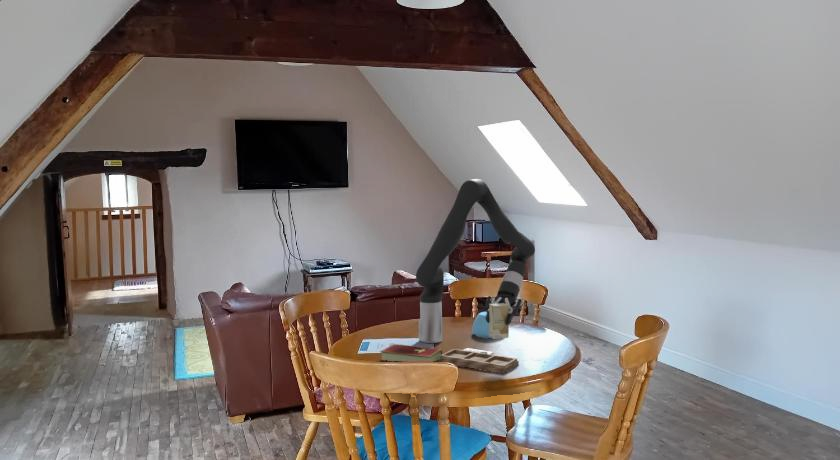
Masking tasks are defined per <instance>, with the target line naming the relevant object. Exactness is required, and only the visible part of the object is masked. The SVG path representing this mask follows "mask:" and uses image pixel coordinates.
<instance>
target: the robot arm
mask: <svg viewBox="0 0 840 460" xmlns="http://www.w3.org/2000/svg"><path fill="white" fill-rule="evenodd" d="M456 195H457V196H456V198H455V200H454V203H453V206H452V207H451V209H450V210H449V213H448V215H447V216H446V218H445V221H444V222H443V224H442V226H441V227H440V229H439V231H438V233H437V236H436V238H435V239H434V241H433V244H432V245H431V247H430V248H429V251H428V252H427V255H426V256H425V258H424V259H423V260H422V261H421V264H420V265H419V266H418V268H417V270H416V274H415V280H416V282H417V284H418V285H419V286H420V287H424V289H423V291H422V292H421V294H420V295H419V307H420V309H419V310H420V311H419V314H420V316H419V317H420V318H418V319H417V320H418V321H417V322H418V341H419V342H421V343H426V344H437V343H440V342H442V341H443V316H442V315H443V312H442V310H443V309H442V307H443V305H442V304H443V302H442V298H443V294H444V286H445V285H444V278H445V277H444V270H443V268H442V266H441V264H442V263H443V262H444V261H445V259H446V258H447V257H448V256H449V255H450V254H451V253H452V252H453V251H454V250H455V249H456V248H457V246H458V244H459V242H460V241H461V240H462V237H463V235H464V232H465V231H466V230H465V228H466V224H467V218H468V215H469V214H470V212H471V210H472V208H473V206H475V204H476V203H478V205H479V206H480V207H481V208H483V210H484V211H485V213H486V214H487V217H488V219H489V222H490V223H491V225H492V227H493V230H494V231H495V232H496V233H497V235H498V236H499V237H500V239H501V240H502V241H503V242H504V243H505V244H506V245H507V244H512V245H513V246H514V248H513V250H512V251H511V254H510V256H509V264H508V266H507V269H506V270H505V271H506V272H505V274H504V275H503V277H502V280H501V282H500V285H499V288H498V290H497V293H496V294H497V295H496V296H495V297H492V296H491V295H488V296H487V298H486V301H485V304H484V308H483V309H484V312H487V315H486V321H487V323H489V304H497V303H505V304H507V305H509V314H508V315H507V317H506V320H505V324H506V325H509V326H510V325H511V323H512V320H513V318H514V317H519V316H520V313H521V311H522V309H523V305H524V302H523V300H522V298H519V299H518V297H519V294H520V291H521V288H522V285H523V282H524V281H523V280H524V278H525V276H526V272H527V266H526V264H527V262H528V261H529V260H530V259H531V258H532V257H533V256H534V254H535V253H536V248H535V244H534V242H533V241H531V239H529V238H528V237H527V236H525V235H524V234H523V233H522V232H520V231H519V230H518V229H517V228H516V226H515V225H514V224H513V223H512V221H511V220H510V218H508V216H507V215H506V214H505V212H504V211H503V210H502V208H501V207H500V204H499V203H498V202H497V200H496V198H495V196H494V195H493V192H492V191H491V189H490V188H489V186H488V185H487V183H486V182H485V181H484V180H482V179H480V178H472V179H467V180H466V181H464V182H463V183H462V184H461V186H460V188H459V190H458V193H457V194H456ZM513 306H515V308H514V309H513Z"/></svg>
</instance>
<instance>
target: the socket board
mask: <svg viewBox="0 0 840 460" xmlns="http://www.w3.org/2000/svg"><path fill="white" fill-rule="evenodd" d="M519 361H520V360H518V358H516V357H509V356H505V355H498V354H485V353H478V352H472V351H465V350H464V349H459V348H452V349H450V350H449V351H446V352H444V353H442V355H440V359H438V363H439V362H450V363H453V364H455V365H458V366H463V367H462V368H464V367H469V368H468V369H470V368H475V369H474V370H476V369H481V370H480V371H482V370H486V371H485V372H488V371H492V372H491V373H493V372H497V373H496V374H499V373H502V374H501V375H504V374H506V373H508V372H509V371H511V370H513V369H514V368H517V366H519V365H520V364H519V363H520V362H519ZM458 366H457V367H458ZM512 368H513V369H512ZM510 369H511V370H510ZM507 371H508V372H507ZM505 372H506V373H505Z"/></svg>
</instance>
